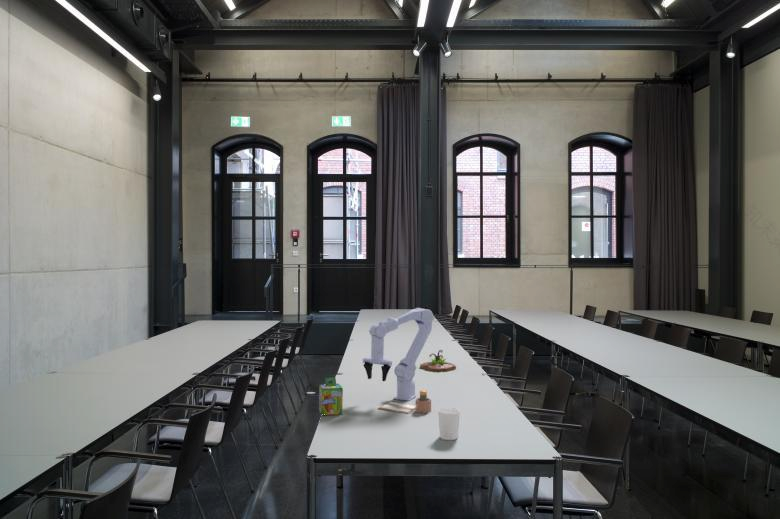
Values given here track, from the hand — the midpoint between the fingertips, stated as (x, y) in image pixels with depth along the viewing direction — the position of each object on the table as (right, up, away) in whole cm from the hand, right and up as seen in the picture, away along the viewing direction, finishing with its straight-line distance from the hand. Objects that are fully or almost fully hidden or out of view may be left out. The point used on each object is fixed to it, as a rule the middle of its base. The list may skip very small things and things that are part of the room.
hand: (376, 379), depth 252 cm
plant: (+36, -10, +76) cm, 85 cm away
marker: (+21, -10, -14) cm, 27 cm away
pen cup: (+21, -11, -14) cm, 27 cm away
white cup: (+28, -11, -48) cm, 57 cm away
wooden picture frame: (+10, -11, -9) cm, 17 cm away
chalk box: (-20, -11, -16) cm, 28 cm away
